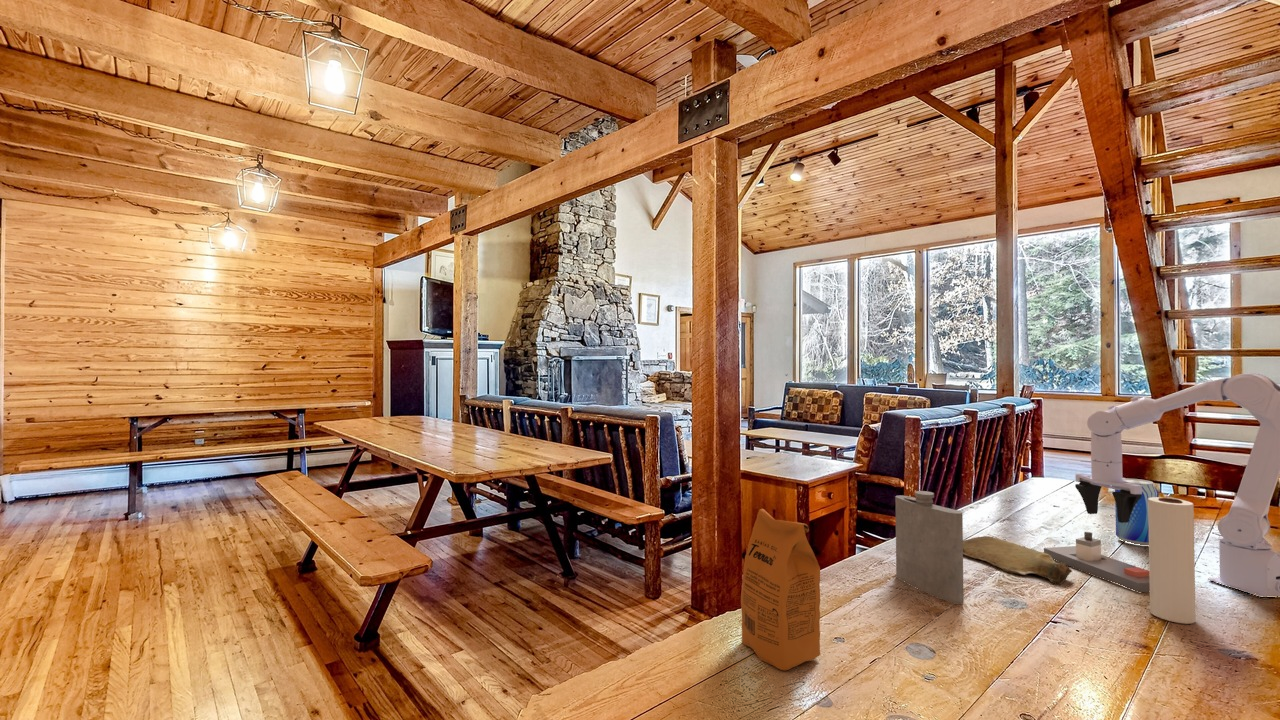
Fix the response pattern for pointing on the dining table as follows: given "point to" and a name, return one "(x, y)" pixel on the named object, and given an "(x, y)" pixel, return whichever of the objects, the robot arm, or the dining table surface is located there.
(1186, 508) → the paper towel roll
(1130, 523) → the beer can
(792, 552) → the coffee package
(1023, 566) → the stone tool
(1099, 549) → the plug
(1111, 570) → the power strip
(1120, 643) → the dining table surface
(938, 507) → the hip flask
